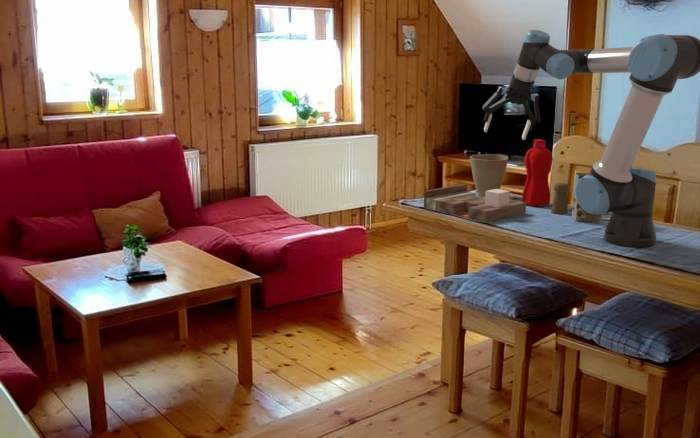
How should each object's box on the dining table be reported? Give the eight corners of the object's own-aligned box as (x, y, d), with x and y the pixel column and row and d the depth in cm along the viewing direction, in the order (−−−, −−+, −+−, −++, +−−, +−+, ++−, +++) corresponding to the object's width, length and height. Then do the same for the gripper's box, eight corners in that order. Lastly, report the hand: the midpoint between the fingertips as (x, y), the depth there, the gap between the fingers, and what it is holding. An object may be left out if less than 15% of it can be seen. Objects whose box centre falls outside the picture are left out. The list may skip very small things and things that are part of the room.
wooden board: (525, 213, 258) (526, 196, 256) (485, 222, 244) (486, 204, 243) (463, 200, 280) (463, 183, 279) (423, 207, 267) (424, 190, 265)
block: (508, 205, 253) (509, 191, 252) (498, 207, 249) (498, 193, 248) (495, 202, 258) (496, 188, 256) (484, 204, 254) (485, 190, 253)
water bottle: (556, 205, 272) (561, 139, 266) (534, 208, 267) (538, 141, 261) (540, 200, 280) (544, 137, 274) (518, 203, 275) (522, 138, 269)
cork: (571, 213, 258) (573, 183, 255) (557, 215, 255) (560, 185, 253) (561, 210, 263) (563, 181, 261) (547, 211, 261) (549, 182, 258)
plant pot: (462, 193, 293) (463, 155, 289) (494, 191, 297) (496, 153, 294) (479, 200, 279) (481, 160, 275) (513, 198, 283) (515, 158, 280)
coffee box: (575, 221, 246) (578, 175, 242) (571, 217, 252) (574, 172, 249) (602, 222, 245) (606, 176, 242) (597, 217, 251) (601, 173, 248)
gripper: (558, 80, 238) (537, 136, 250) (486, 65, 237) (468, 122, 248) (562, 89, 232) (540, 146, 243) (488, 73, 231) (470, 131, 242)
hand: (504, 134), depth 246 cm, fingers open, 13 cm apart
